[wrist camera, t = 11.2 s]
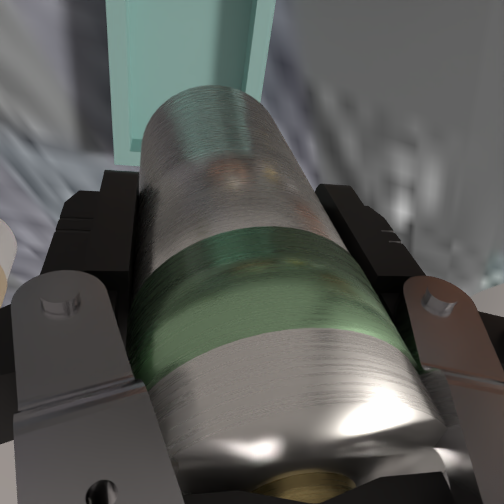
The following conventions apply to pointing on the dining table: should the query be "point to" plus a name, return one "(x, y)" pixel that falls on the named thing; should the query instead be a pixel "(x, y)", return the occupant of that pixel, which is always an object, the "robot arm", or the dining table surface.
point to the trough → (179, 56)
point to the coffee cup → (6, 256)
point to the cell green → (262, 318)
